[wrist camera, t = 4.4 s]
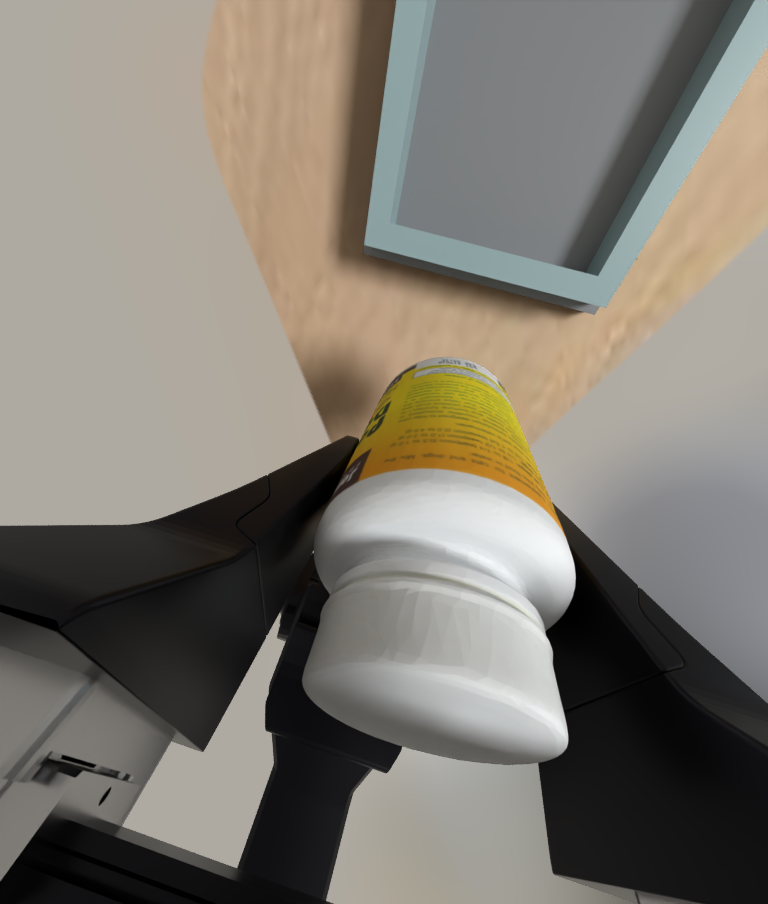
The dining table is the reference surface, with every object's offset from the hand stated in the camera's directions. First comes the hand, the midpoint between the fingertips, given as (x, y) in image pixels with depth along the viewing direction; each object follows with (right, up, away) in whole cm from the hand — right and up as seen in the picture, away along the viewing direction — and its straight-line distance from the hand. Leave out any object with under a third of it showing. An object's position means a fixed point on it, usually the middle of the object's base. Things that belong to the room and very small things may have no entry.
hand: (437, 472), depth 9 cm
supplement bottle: (+1, +2, +3) cm, 4 cm away
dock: (+4, +14, +2) cm, 15 cm away
